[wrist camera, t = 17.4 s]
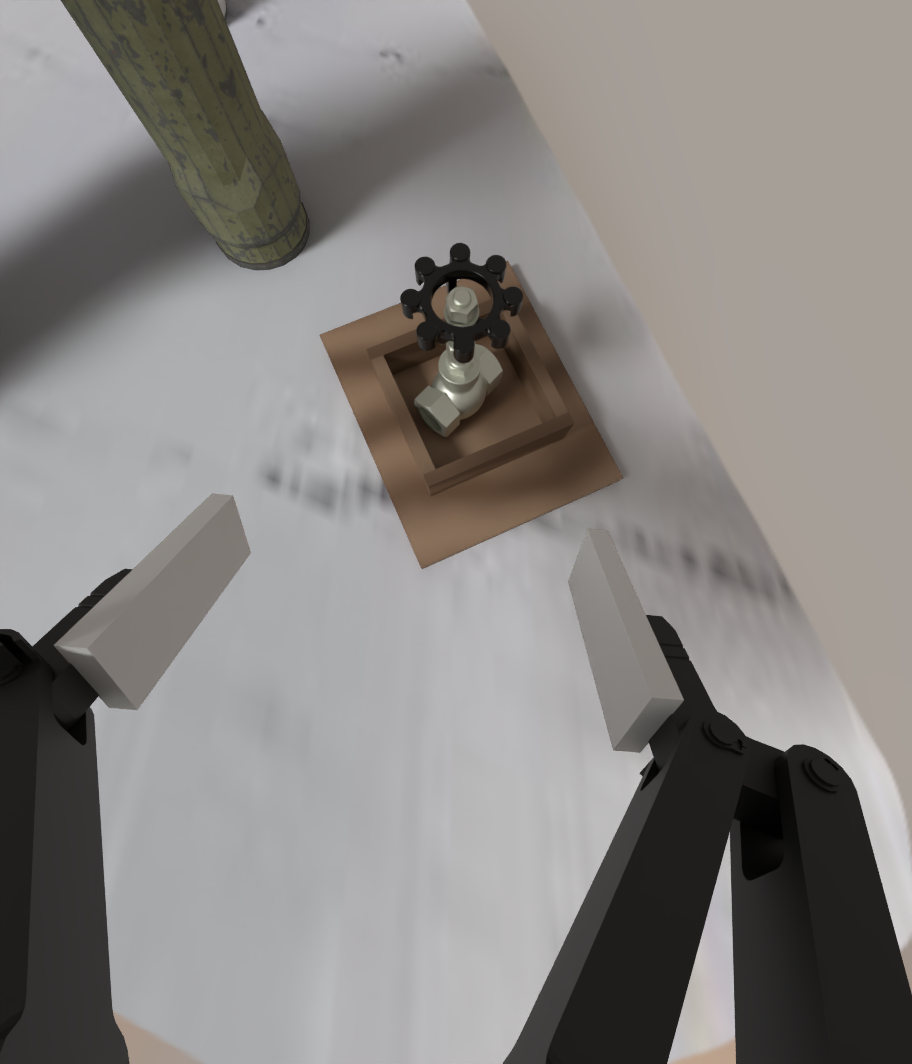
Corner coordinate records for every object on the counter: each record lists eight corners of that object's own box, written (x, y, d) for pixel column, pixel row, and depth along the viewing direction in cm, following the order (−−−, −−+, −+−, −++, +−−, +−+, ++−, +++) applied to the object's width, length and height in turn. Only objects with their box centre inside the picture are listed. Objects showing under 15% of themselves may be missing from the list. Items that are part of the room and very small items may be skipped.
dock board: (323, 342, 34) (306, 309, 30) (506, 270, 35) (513, 229, 32) (422, 568, 31) (418, 565, 27) (617, 481, 33) (640, 466, 29)
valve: (402, 405, 32) (374, 298, 20) (456, 352, 33) (458, 220, 21) (460, 457, 32) (465, 377, 20) (513, 402, 32) (549, 293, 21)
